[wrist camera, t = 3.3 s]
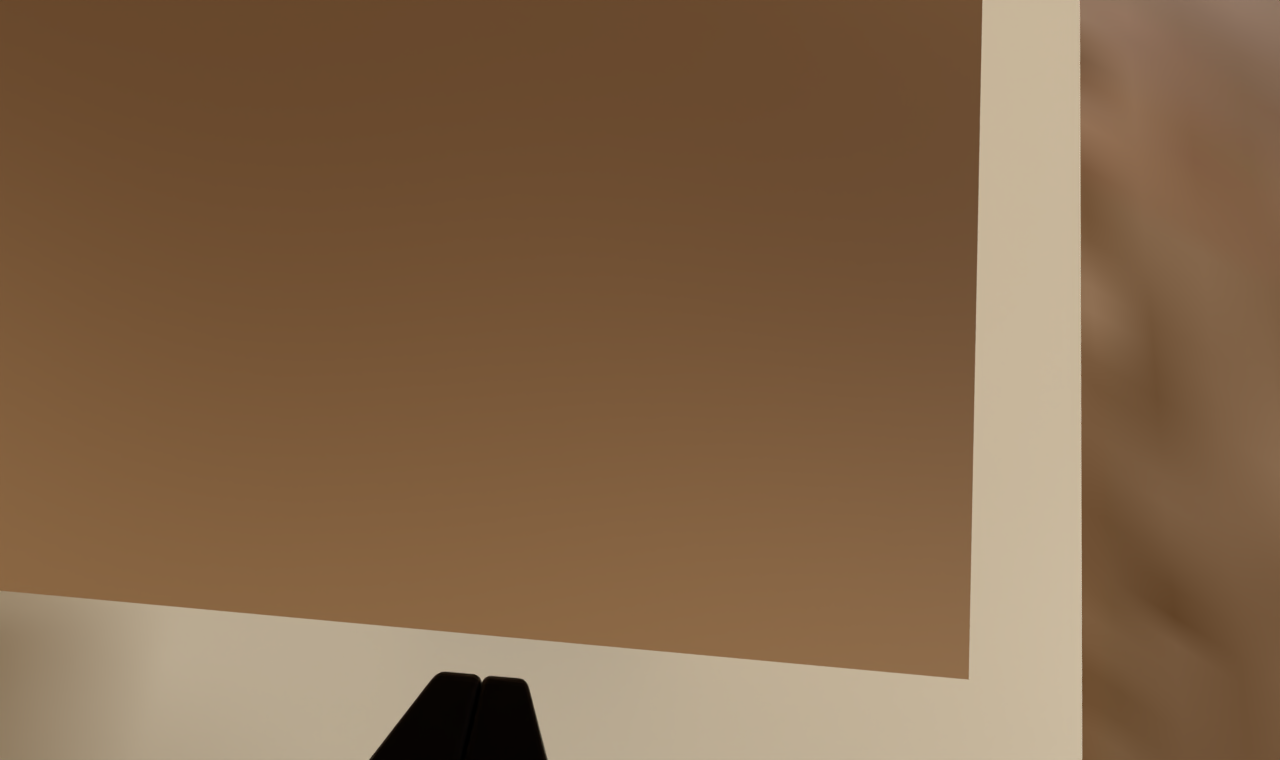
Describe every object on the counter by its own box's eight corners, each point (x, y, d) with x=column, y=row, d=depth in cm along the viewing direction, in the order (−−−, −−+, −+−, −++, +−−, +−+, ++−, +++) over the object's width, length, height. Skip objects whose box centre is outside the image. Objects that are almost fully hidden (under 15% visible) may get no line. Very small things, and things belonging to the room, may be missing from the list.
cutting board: (1064, 1251, 15) (1084, 1277, 15) (-154, 1160, 15) (-185, 1184, 14) (1065, -40, 20) (1079, -59, 19) (144, -146, 19) (130, -168, 19)
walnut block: (670, 616, 16) (966, 678, 4) (391, 590, 16) (-317, 559, 3) (693, 346, 17) (988, -348, 5) (429, 320, 17) (-19, -475, 4)
